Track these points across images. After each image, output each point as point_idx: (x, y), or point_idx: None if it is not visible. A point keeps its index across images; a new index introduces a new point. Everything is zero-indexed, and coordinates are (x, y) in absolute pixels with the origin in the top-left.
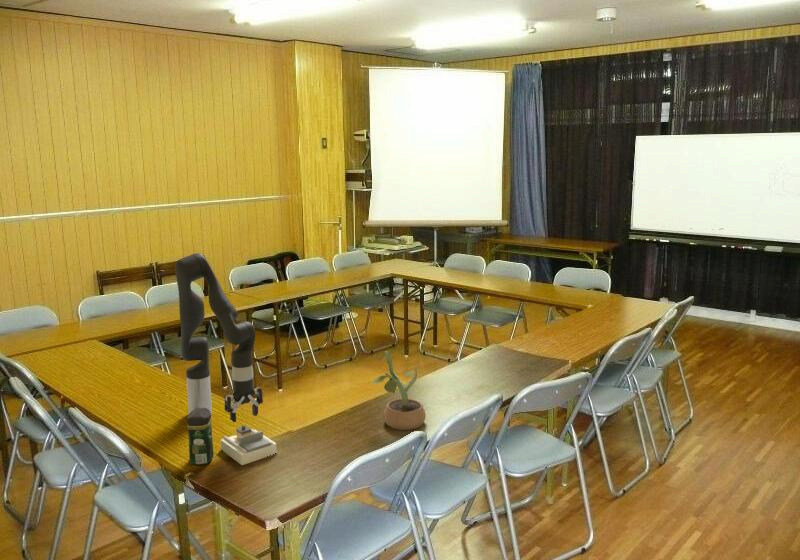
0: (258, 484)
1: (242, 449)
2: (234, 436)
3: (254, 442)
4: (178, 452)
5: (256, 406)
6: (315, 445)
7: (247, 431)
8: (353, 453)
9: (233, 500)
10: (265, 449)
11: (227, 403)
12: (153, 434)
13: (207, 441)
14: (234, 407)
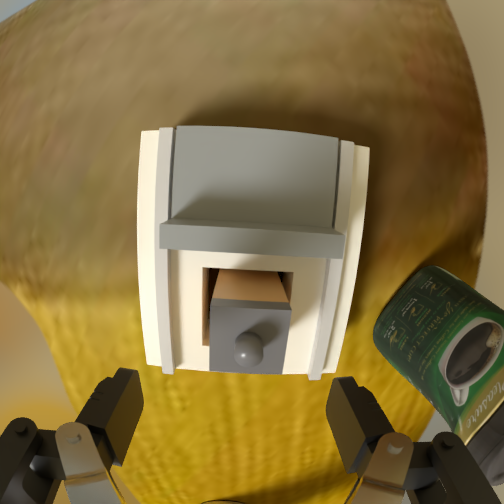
0: (367, 3)
1: (351, 173)
2: None
3: (250, 195)
4: (411, 396)
5: (88, 428)
6: (25, 120)
7: (242, 303)
8: (17, 20)
9: (451, 16)
10: None
11: (491, 502)
12: None
13: (482, 302)
14: (401, 483)
